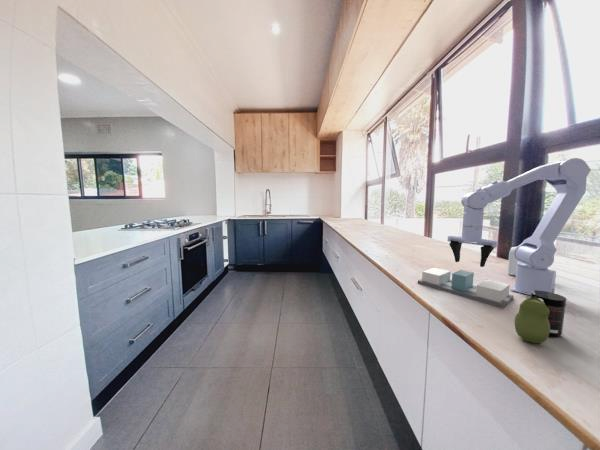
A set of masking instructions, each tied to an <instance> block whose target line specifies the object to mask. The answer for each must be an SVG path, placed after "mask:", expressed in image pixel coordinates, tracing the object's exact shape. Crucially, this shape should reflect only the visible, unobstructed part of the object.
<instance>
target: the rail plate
mask: <svg viewBox="0 0 600 450" xmlns="http://www.w3.org/2000/svg"><path fill="white" fill-rule="evenodd" d="M451 272H452V271H451V270H447V269H443V268H440V267H439V268H438V267H431V268H428V269H425V270H423V271H422V273H421V274H422V276H421V278H420V279H418V280H417V283H418V284H420V285H423V286H426V287H427V286H428V287H430V288H434V289H437V290H440V291H444V292H448V293H450V294H454V295H458V296H460V297H465V298H468V299H472V300H475V301H479V302H481V303H485V304H488V305H492V306H495V307H498V308H501V309H503V308H505V306H507V305H508V304H509V303H510V302H511V301H512V300H514V295H513V294H510V285H511V284H509V283H503V282H501V281H495V280H490V279H485V280H483V281H481V282H480V283H477V284H476V285H474V284H473V287H471V288H469V289H467V290H466V291H462V290H459V289H455V288H451V285H452V279H451V275H452V274H451Z"/></svg>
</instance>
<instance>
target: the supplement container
mask: <svg viewBox="0 0 600 450" xmlns="http://www.w3.org/2000/svg"><path fill="white" fill-rule="evenodd" d="M534 296H536V297H537V298H541V299H542V300H544V303H545V305H546V307H547V308H548V309H549V311H550V312H549V315H548V321H549V323H550V334H549V337H550V338H558V337H561V336H562V334H563V328H564V320H565V319H564V318H565V312H566V306H567V300H568V299H567V298H566V297H565V296H563V295H560V294H558V293H555V292H554V293H551V292H546V291H537V290H535V291H531V295H530V296H529V297H531V298H532V297H534ZM534 298H535V297H534ZM549 337H548V338H549Z"/></svg>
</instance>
